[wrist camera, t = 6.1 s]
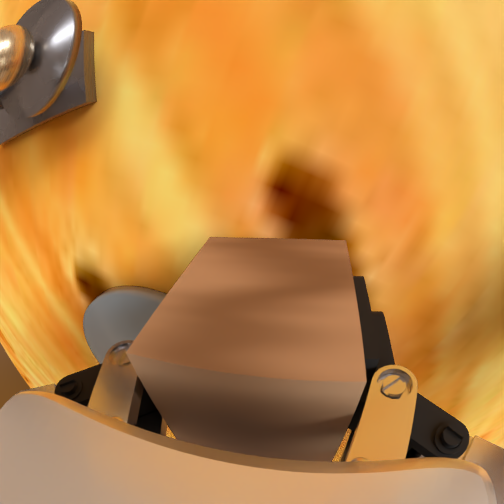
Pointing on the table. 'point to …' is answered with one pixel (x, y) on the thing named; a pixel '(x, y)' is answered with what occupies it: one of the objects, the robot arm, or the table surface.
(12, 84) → the balance
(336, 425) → the walnut block
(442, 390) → the table surface
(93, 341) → the dish
